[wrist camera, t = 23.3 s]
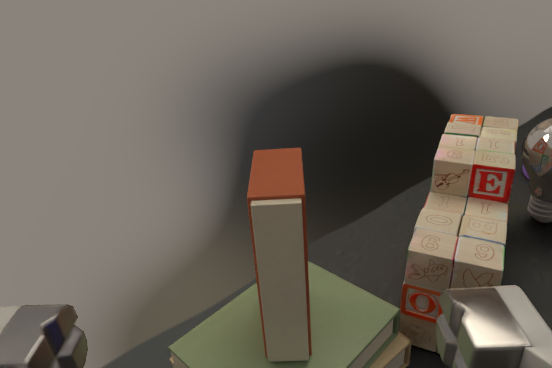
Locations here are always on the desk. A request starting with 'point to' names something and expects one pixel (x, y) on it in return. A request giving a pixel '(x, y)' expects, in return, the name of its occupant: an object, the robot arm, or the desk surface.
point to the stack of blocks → (459, 221)
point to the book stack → (324, 331)
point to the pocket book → (281, 252)
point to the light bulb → (539, 170)
